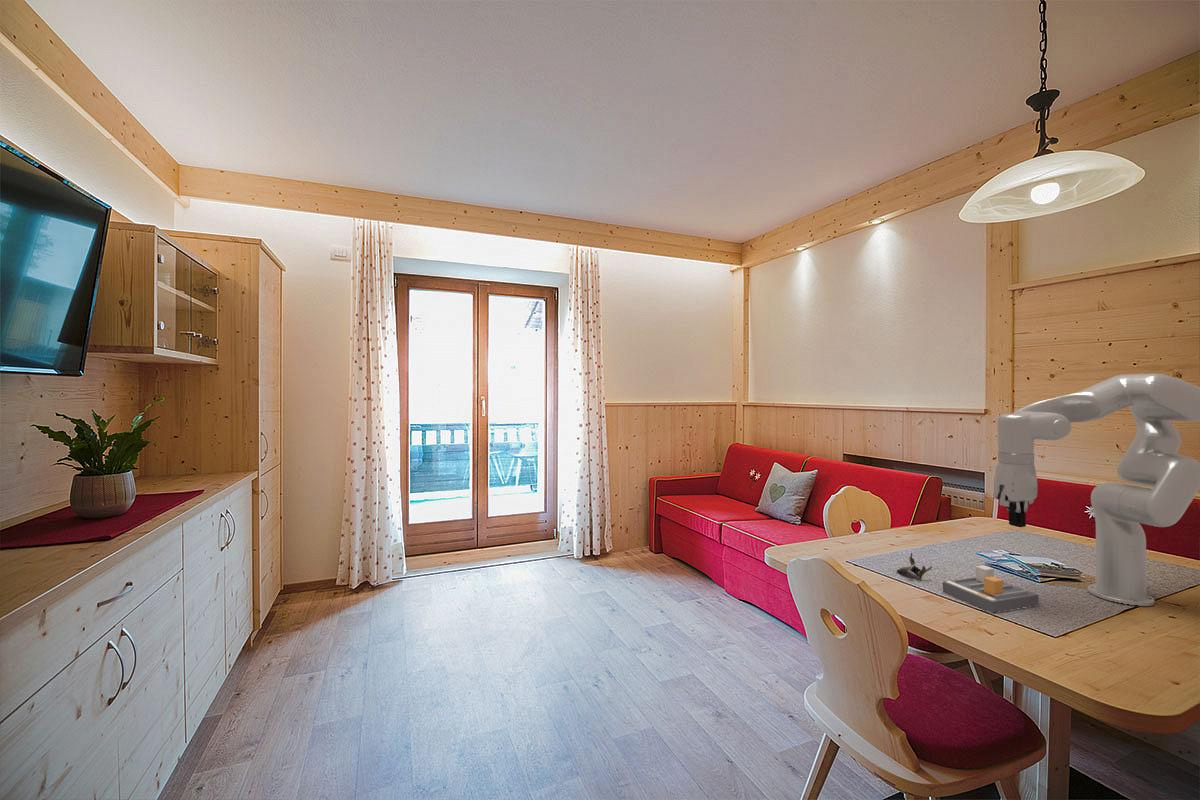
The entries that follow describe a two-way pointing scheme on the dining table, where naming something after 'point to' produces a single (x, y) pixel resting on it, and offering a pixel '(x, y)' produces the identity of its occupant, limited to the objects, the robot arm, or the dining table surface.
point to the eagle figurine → (914, 568)
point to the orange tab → (993, 585)
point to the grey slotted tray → (975, 595)
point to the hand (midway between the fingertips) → (1017, 525)
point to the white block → (983, 573)
